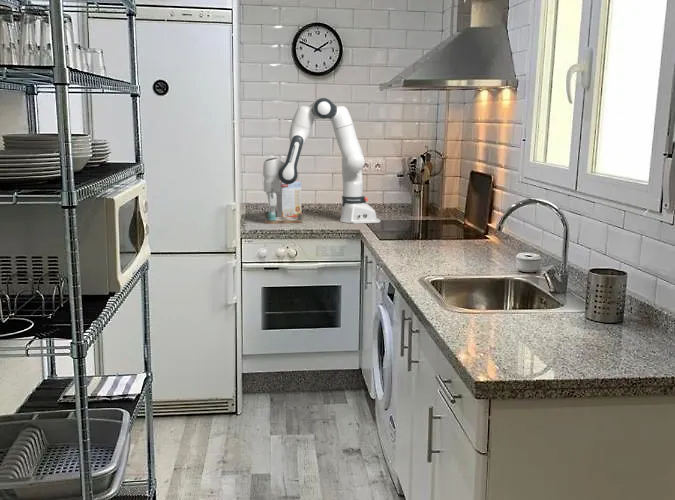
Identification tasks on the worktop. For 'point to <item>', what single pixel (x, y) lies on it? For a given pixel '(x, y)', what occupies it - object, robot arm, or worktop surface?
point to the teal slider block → (271, 216)
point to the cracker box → (289, 200)
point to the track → (283, 219)
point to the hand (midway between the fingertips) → (272, 213)
